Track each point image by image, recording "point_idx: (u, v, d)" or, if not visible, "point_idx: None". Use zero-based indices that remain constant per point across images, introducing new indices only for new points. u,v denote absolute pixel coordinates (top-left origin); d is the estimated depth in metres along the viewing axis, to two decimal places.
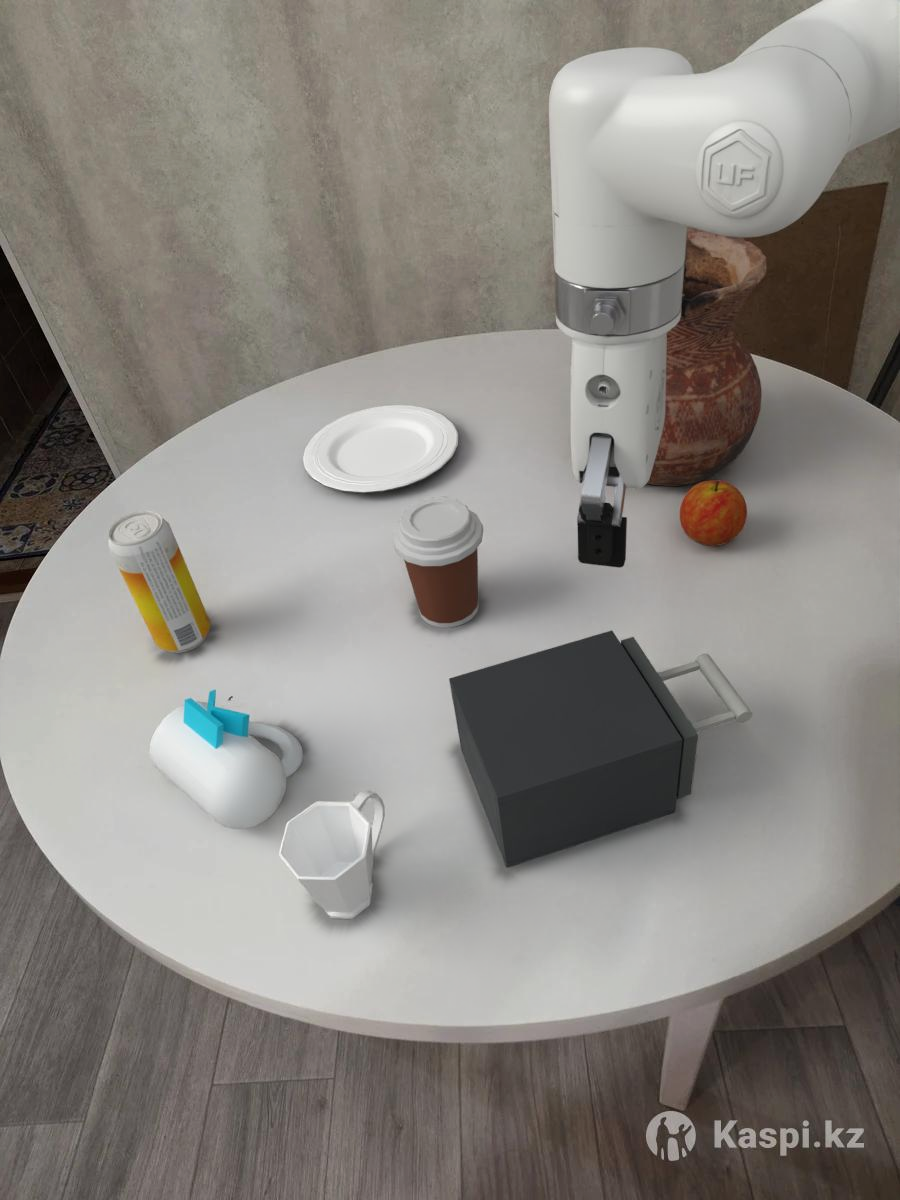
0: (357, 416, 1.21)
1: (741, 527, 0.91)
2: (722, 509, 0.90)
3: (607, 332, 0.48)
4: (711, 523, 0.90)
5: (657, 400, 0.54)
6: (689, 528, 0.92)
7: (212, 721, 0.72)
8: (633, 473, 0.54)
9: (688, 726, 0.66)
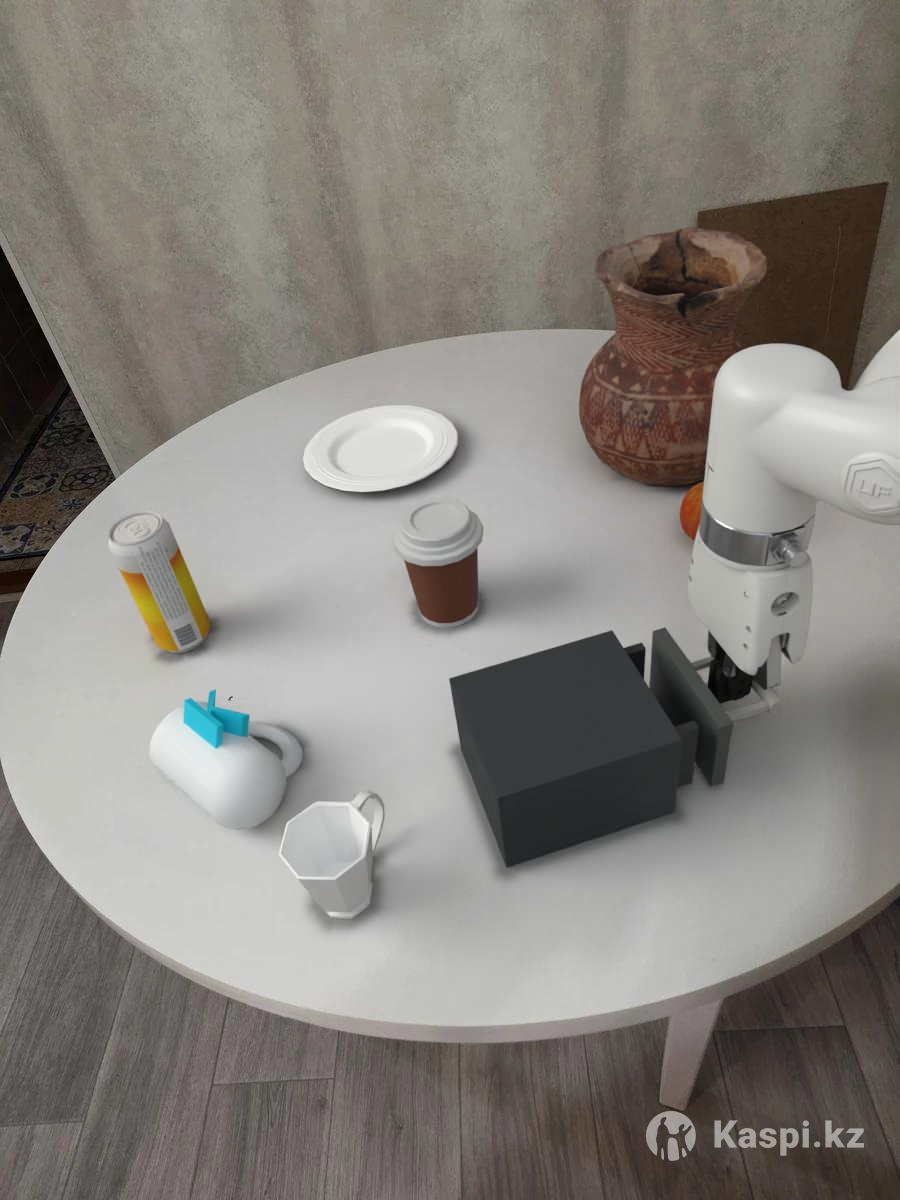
0: (357, 416, 1.21)
1: None
2: None
3: (801, 563, 0.57)
4: None
5: None
6: (690, 528, 0.92)
7: (211, 721, 0.72)
8: (800, 653, 0.64)
9: (723, 715, 0.67)
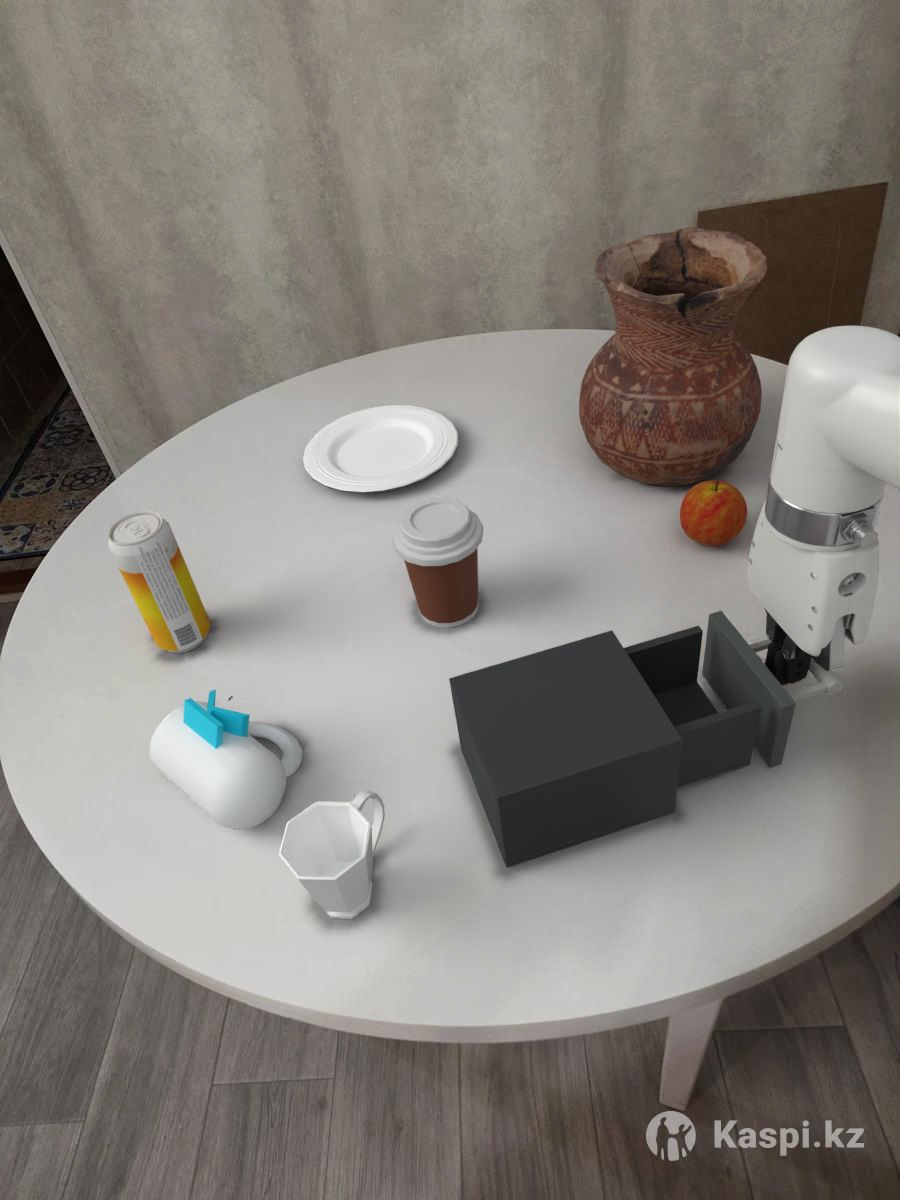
0: (357, 416, 1.21)
1: (741, 527, 0.91)
2: (722, 509, 0.90)
3: (871, 543, 0.58)
4: (711, 523, 0.90)
5: None
6: (690, 528, 0.92)
7: (211, 721, 0.72)
8: (863, 634, 0.65)
9: (785, 695, 0.67)
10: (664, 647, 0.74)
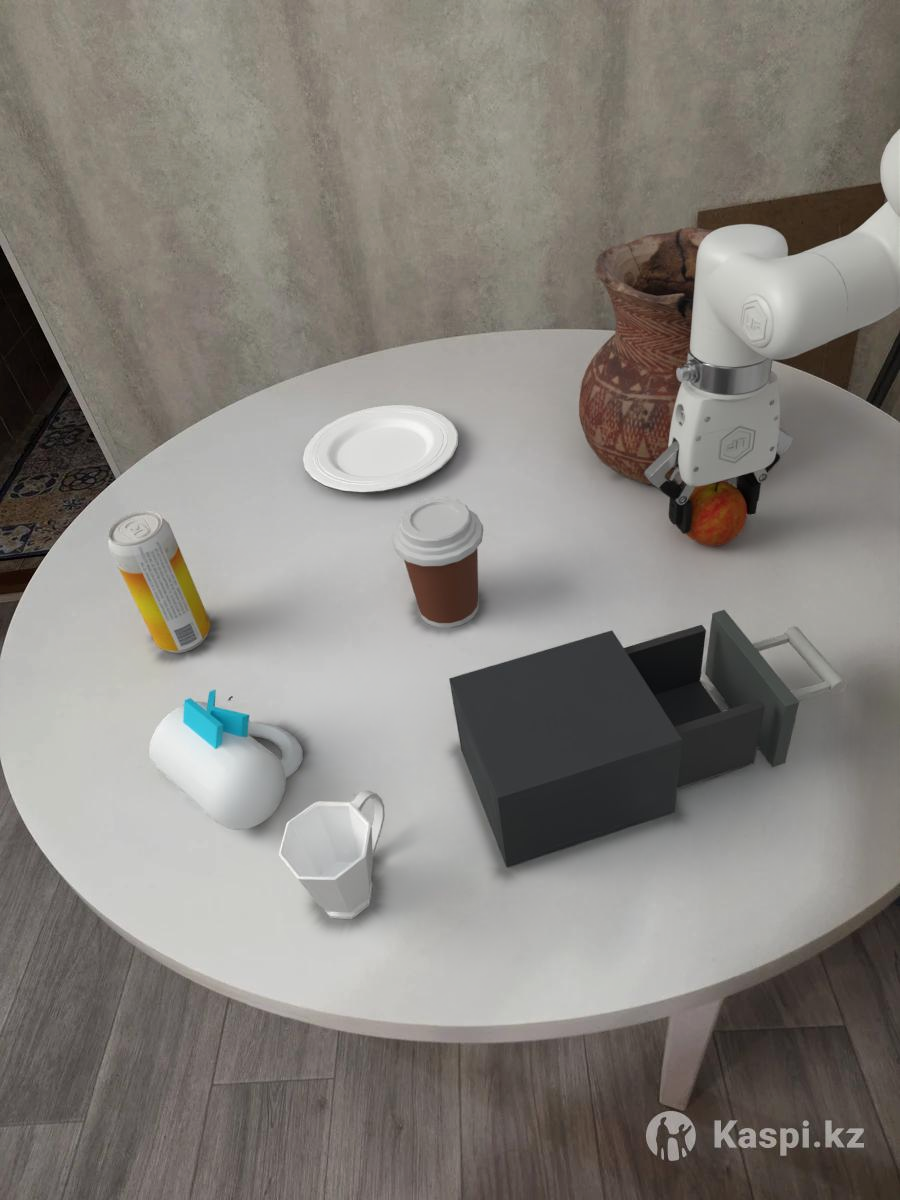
0: (357, 416, 1.21)
1: (741, 527, 0.91)
2: (722, 509, 0.90)
3: (680, 380, 0.81)
4: (711, 523, 0.90)
5: (724, 441, 0.84)
6: None
7: (211, 721, 0.72)
8: (684, 473, 0.86)
9: (788, 694, 0.67)
10: (667, 646, 0.74)
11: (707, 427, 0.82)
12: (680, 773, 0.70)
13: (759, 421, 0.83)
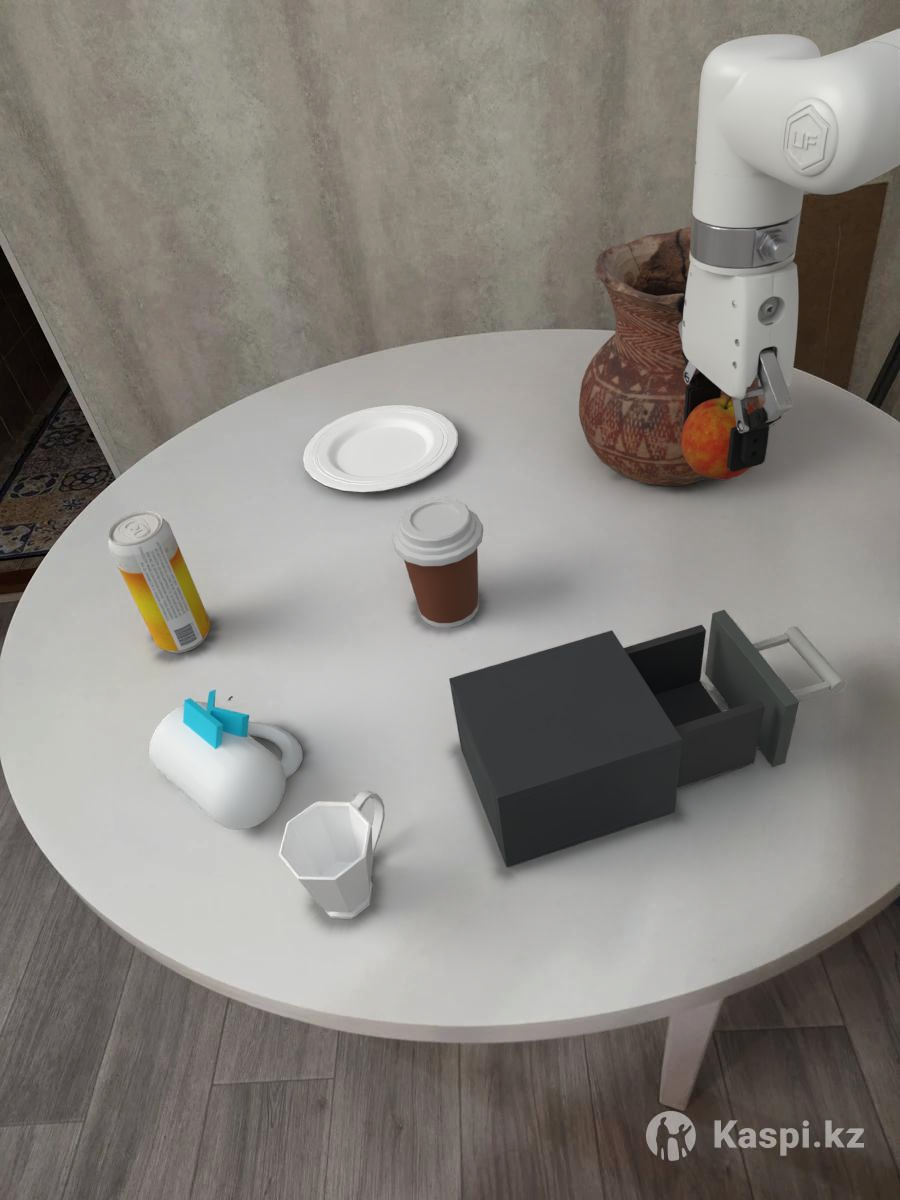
0: (357, 416, 1.21)
1: None
2: None
3: (786, 257, 0.60)
4: None
5: None
6: None
7: (211, 721, 0.72)
8: (788, 374, 0.66)
9: (788, 694, 0.67)
10: (667, 646, 0.74)
11: None
12: (680, 773, 0.70)
13: None
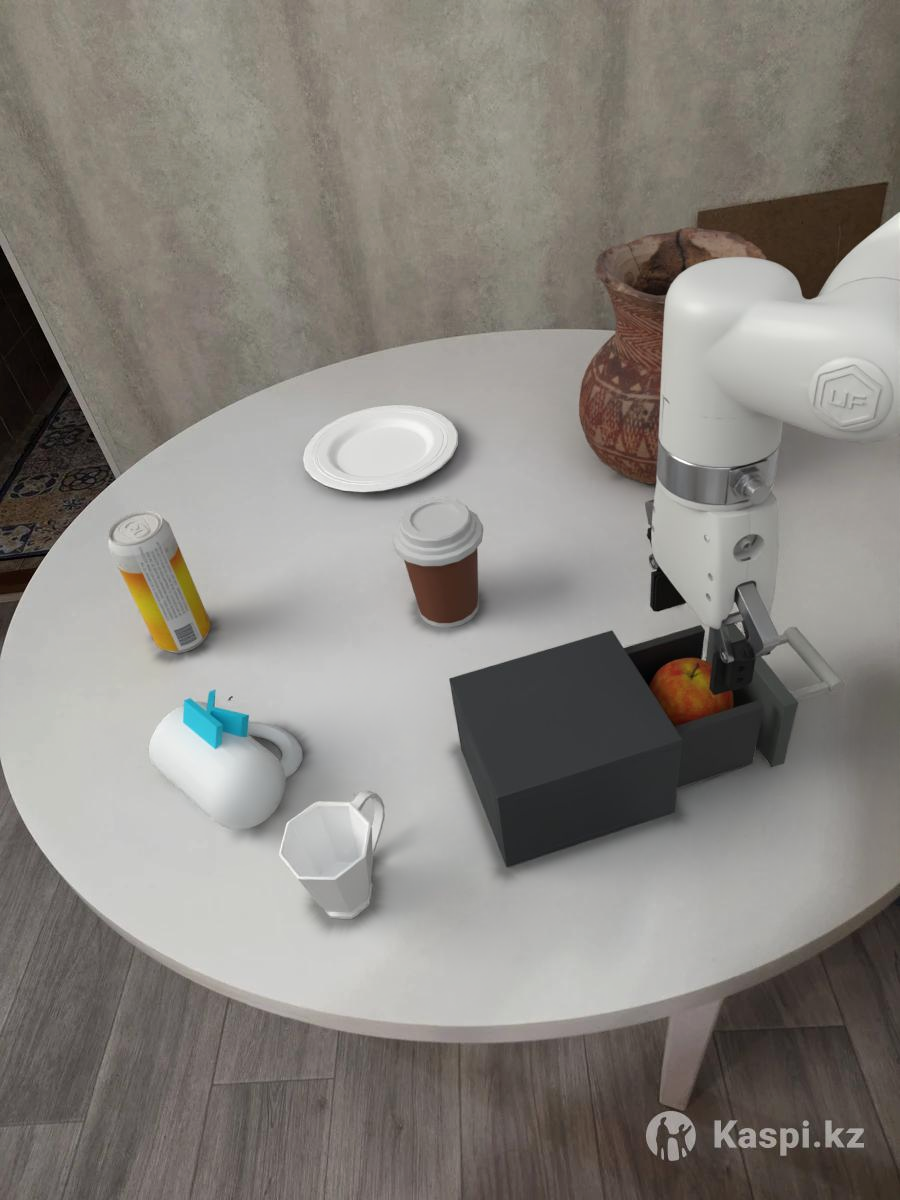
0: (357, 416, 1.21)
1: None
2: None
3: (764, 500, 0.53)
4: (732, 697, 0.70)
5: None
6: None
7: (211, 721, 0.72)
8: (768, 604, 0.59)
9: (787, 695, 0.67)
10: (666, 647, 0.74)
11: None
12: (679, 773, 0.70)
13: None
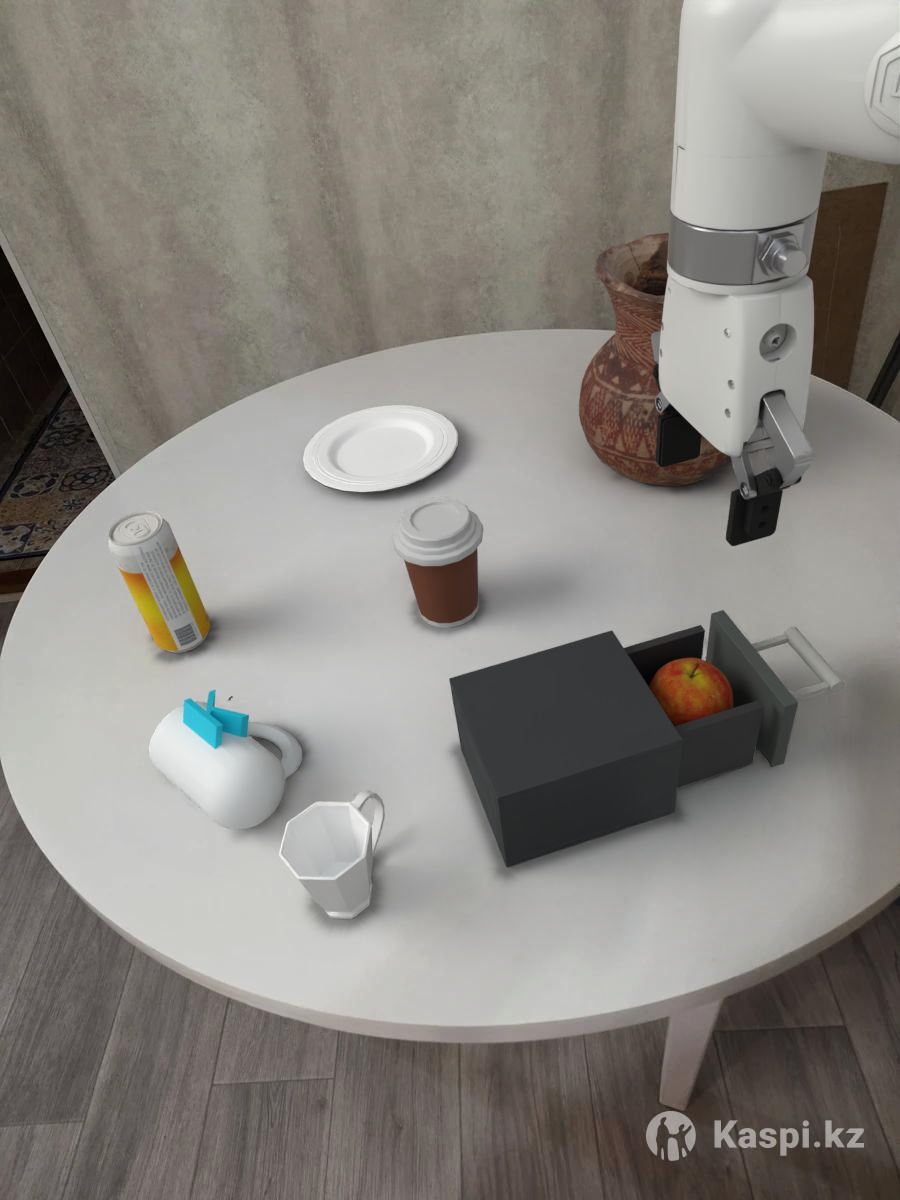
0: (357, 416, 1.21)
1: None
2: (724, 676, 0.70)
3: (799, 271, 0.43)
4: (732, 697, 0.70)
5: None
6: None
7: (211, 721, 0.72)
8: (798, 425, 0.50)
9: (787, 695, 0.67)
10: (666, 647, 0.74)
11: None
12: (679, 773, 0.70)
13: None
